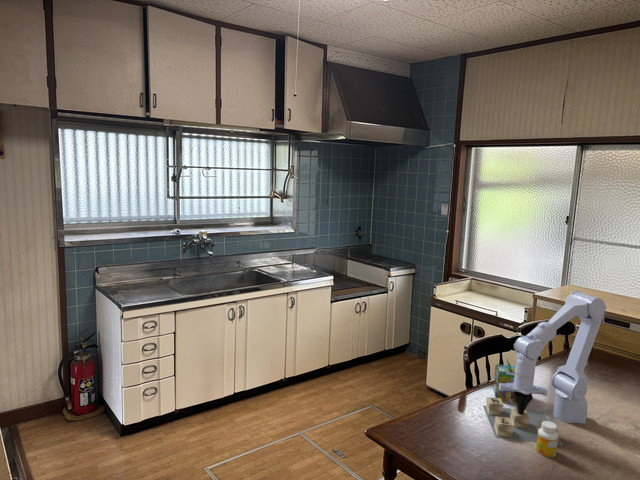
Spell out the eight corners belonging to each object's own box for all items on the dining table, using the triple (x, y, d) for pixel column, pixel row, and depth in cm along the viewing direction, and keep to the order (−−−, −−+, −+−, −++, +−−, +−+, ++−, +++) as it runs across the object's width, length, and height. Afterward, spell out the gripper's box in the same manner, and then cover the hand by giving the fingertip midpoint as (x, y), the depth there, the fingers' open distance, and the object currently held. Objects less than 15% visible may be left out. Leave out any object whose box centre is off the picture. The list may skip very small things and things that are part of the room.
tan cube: (551, 434, 147) (553, 422, 146) (556, 442, 143) (558, 430, 142) (536, 432, 148) (538, 420, 147) (541, 440, 143) (542, 428, 143)
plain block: (524, 421, 154) (525, 409, 154) (528, 428, 150) (529, 416, 149) (510, 419, 155) (511, 408, 154) (513, 426, 151) (514, 415, 150)
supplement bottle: (531, 449, 140) (535, 419, 139) (548, 449, 141) (552, 419, 139) (541, 460, 135) (545, 429, 134) (559, 460, 136) (563, 429, 134)
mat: (542, 414, 161) (542, 411, 161) (563, 448, 141) (564, 445, 141) (482, 408, 164) (482, 405, 164) (495, 440, 144) (495, 437, 144)
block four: (499, 409, 162) (500, 398, 161) (502, 415, 157) (503, 404, 157) (485, 407, 162) (487, 396, 162) (488, 414, 158) (489, 403, 157)
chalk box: (523, 407, 166) (527, 368, 163) (496, 403, 167) (500, 364, 165) (517, 395, 175) (522, 357, 172) (492, 391, 176) (496, 354, 174)
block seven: (508, 429, 149) (510, 417, 148) (512, 437, 144) (513, 425, 144) (494, 427, 150) (495, 416, 149) (497, 435, 145) (498, 423, 144)
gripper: (504, 376, 147) (499, 416, 149) (552, 381, 145) (547, 422, 147) (499, 367, 154) (494, 405, 156) (545, 372, 152) (540, 410, 154)
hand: (520, 413), depth 152 cm, fingers closed, pressing on plain block
